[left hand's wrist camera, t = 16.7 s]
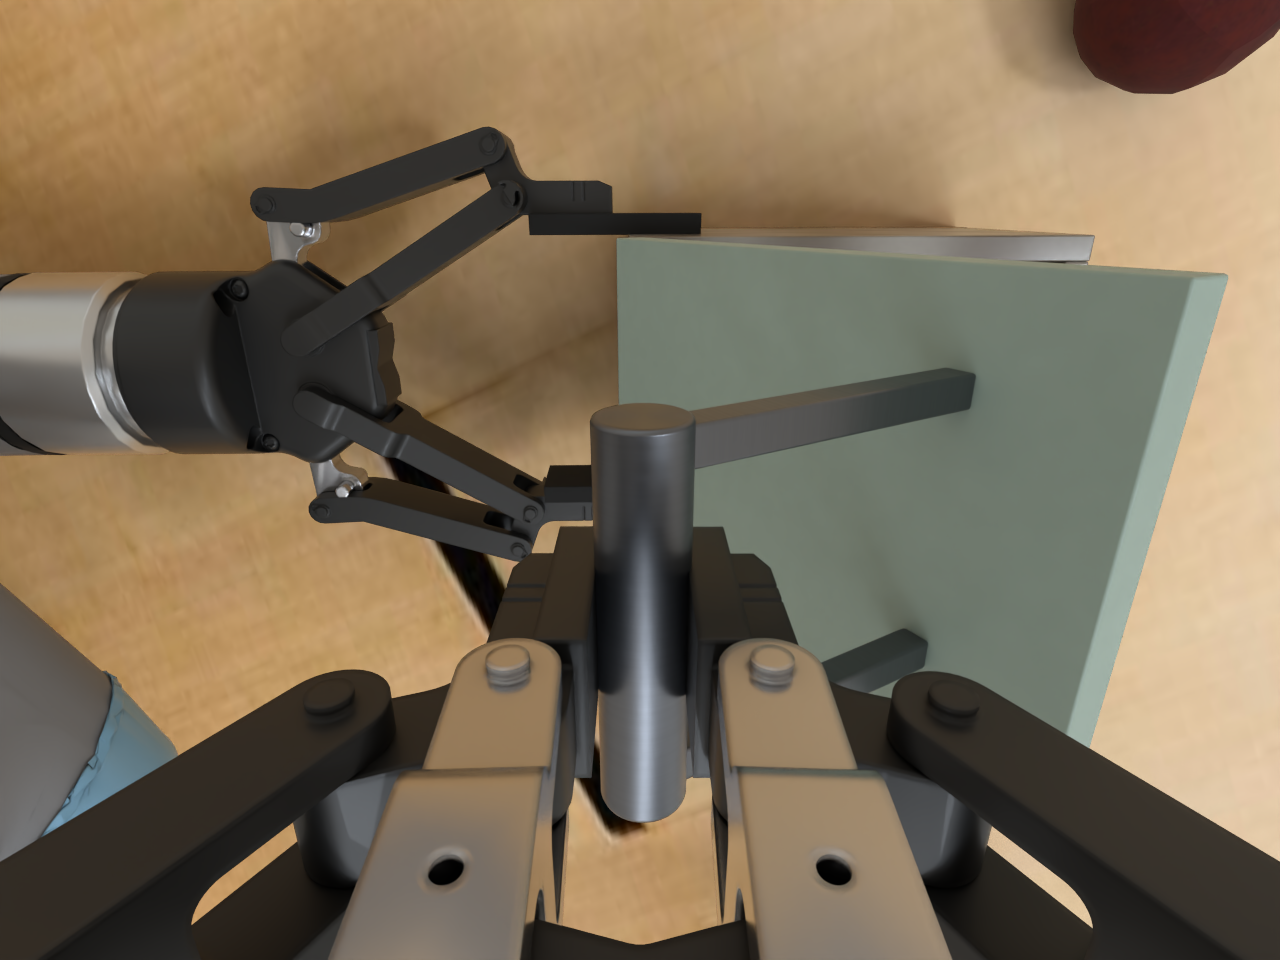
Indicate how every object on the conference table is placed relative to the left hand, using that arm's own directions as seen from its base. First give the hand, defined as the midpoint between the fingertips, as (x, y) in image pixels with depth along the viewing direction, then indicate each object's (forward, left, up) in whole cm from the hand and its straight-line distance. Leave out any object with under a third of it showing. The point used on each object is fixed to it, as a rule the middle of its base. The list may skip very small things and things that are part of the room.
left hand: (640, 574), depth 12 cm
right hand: (+2, -2, -18) cm, 19 cm away
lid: (+3, -3, -7) cm, 8 cm away
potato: (+26, -6, -25) cm, 37 cm away
